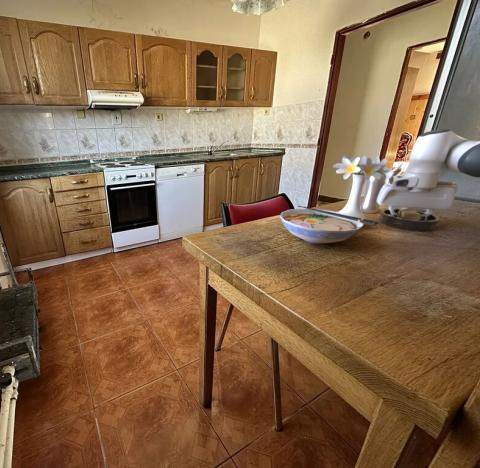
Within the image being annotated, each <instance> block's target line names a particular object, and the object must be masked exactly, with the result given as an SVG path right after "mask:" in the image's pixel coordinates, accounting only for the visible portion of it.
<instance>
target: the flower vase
mask: <svg viewBox="0 0 480 468" xmlns="http://www.w3.org/2000/svg"><path fill="white" fill-rule="evenodd" d="M359 162H360V163H359ZM387 164H388V159H387V158H383V159H382V160H381V159H380V157H379V156H377V157H376V160H375V161H373V160H372V158H371V157H367V156H366V155H364V156H362V157H361V158H360V157H359V156H353V157H351V158H350V159H349V156H348V155H347V154H346V155H345V154H344V155H343V157H342V159H341V162H340V163H335V164H333V166H332V168H333V169H336V171H335V173H336V174H343V175H342V176H343V180H347V179H349V177H350V176H351V175H352V187H351V191H350V194H349V198H348V200H347V202H346V204H345V206H344V207H343V208H342V209H340V210H338V212H340V213H344V214H347V215H350V216H353V217H357V218H362V219H367V217H366V215H365V213H364V212H362V211H361V208H360V204H361V197H362V193H363V188H364V186H365V184H366V181H367V180H369V179H370V177H371V176H372V177H374V178H376V179H380V175H379V174H378V173H380V174H381V175H382V176H384V177H385V178H386V183H385V185H386V187H387V186H388V184H389V183H390V185H391V184H392V183H393V181H394V178H393V177H394V176H398V175H400V173H401V171H402V168H401V167H402V166H403V163H401V164H399V165H398V166H397V167H394V168H393V169H392V170H391V169H390V168H389V167H387ZM385 166H386V167H385ZM383 167H385V168H383ZM400 168H401V169H400ZM365 224H366V223H363V225H365Z"/></svg>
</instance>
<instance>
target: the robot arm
mask: <svg viewBox="0 0 480 468" xmlns="http://www.w3.org/2000/svg"><path fill="white" fill-rule="evenodd" d="M408 158H409V159H408V160H409V163H408V166H407V167H406V169H405V172H404V173H403V174H398V175H395V176H393V178H394V181H393V183H392V184H391V185H390V183H389V184H388V186H387V187H386V181H385V184H384V186H383V187H382V188H381V190H380V192H379V195H378V197H377V203H378V204H379V207H380V206H381V207H388V209H389V210H390V212H391V215H390V216H393V217H397V216H398V214H397V213H395V212H394V210H395V209H397V208H410V209H425V211H426V212H425V213H424V214H423V215H420V218H419V220H420V221H426V219H427V216H429V215H430V214H432V215H433V214H434V211H435V210H442V211H443V210H445V211H448V210H451V209H452V207H454V203H455V197H456V194H457V192H458V190H459V185H458V184H457V183H455V182H454V181H441V180H440V178H441V174H442V173H443V170H446V171H451V172H455V173H459V174H464V175H467V176H469V177H473V178H480V140H470V139H468V138H465V137H462V136H460V135H458V134H456V132H453V130H452V129H449V128H447V129H445V128H444V129H443V128H442V129H436V130H435V129H434V130H430V131H425V132H423V133H421V134H420V135H419V136H418V137H417V138H416V140H415V142H414V143H413V147H412V149H411V152H410V154H409V157H408ZM439 180H440V181H439Z"/></svg>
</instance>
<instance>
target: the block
mask: <svg viewBox="0 0 480 468" xmlns="http://www.w3.org/2000/svg"><path fill="white" fill-rule="evenodd" d="M410 210H411V209H406V210H399V213H398V216H397V218H402V219H409V220H418V221H419V218H420V215H421V214H419V213H418V212H416V211H417V210H416V211H410Z"/></svg>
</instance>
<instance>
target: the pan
mask: <svg viewBox="0 0 480 468" xmlns="http://www.w3.org/2000/svg"><path fill="white" fill-rule="evenodd" d="M384 209H385V210H384ZM384 209H382V210H381V211H380V214H379V218H378V222H380V224H382V225H385V226H387V227H391V228H394V229H400V230H404V231H405V230H406V231H411V232H432V231H435V230H437V228H438V225H439V222H440V217H438V216H437V215H435V214H433V213H432V214H430V215H429V216H427V219H426V221H420V220H419V221H418V220H409V219H402V218H397V217H393V216H390V215H391V212H390V210H389V208H384ZM399 210H407V209H405V208H396V209H395V210H394V212H395V213H397V214H398V213H399ZM409 210H410V211H414V210H415V209H414V210H413V209H409ZM420 211H421V210H416V212H418V213H419V214H421V215H423V214H424V213H425V212H420Z"/></svg>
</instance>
